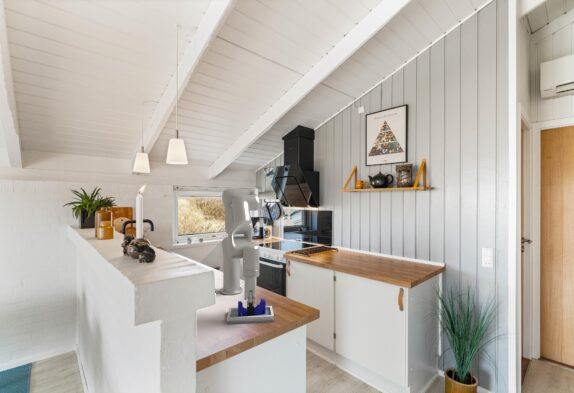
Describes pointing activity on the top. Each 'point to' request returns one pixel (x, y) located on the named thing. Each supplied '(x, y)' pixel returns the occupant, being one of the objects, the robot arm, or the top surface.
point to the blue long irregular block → (258, 309)
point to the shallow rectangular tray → (249, 317)
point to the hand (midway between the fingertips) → (250, 312)
